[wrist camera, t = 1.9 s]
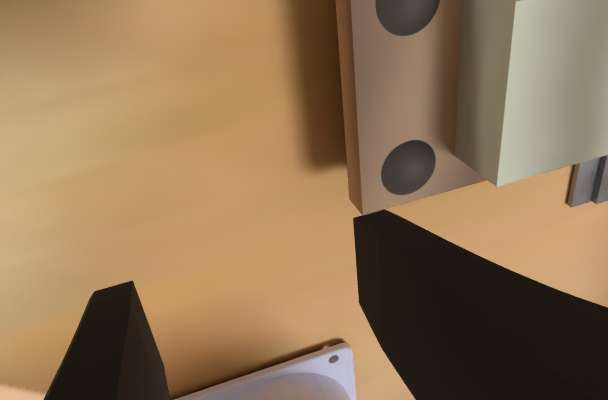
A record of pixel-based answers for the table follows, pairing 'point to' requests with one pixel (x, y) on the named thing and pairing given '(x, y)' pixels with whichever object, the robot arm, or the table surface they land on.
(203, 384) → the table surface
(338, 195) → the table surface
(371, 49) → the square caster platform
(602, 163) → the plate
